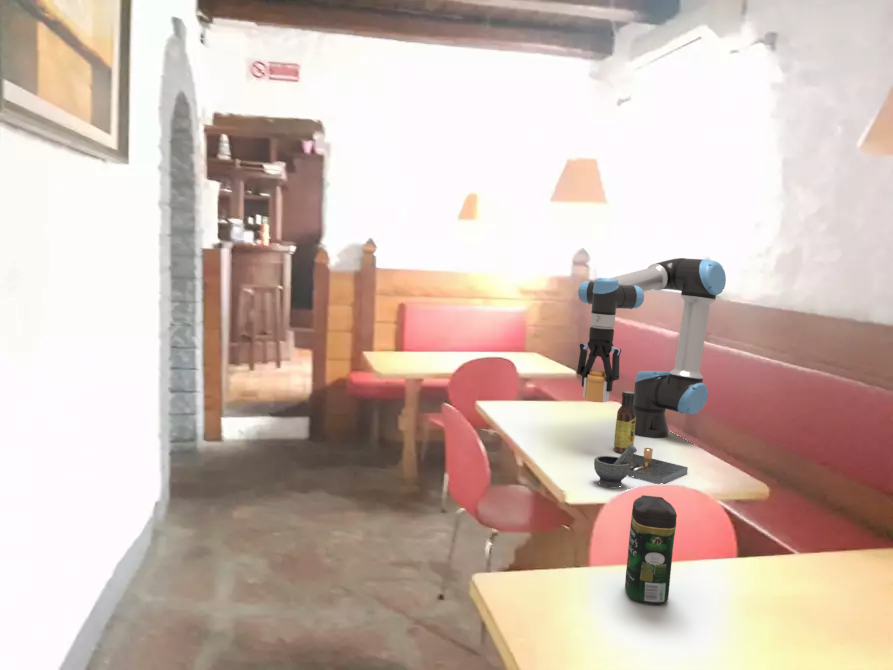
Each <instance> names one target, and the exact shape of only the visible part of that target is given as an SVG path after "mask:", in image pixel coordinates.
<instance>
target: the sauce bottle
mask: <svg viewBox="0 0 893 670" xmlns="http://www.w3.org/2000/svg"><path fill="white" fill-rule="evenodd" d="M621 397H622V400H621V406H620V407H619V408H618V410H617V414H616V420H615V431H614V439H613V441H614V442H613V446H614V447H613V451H614V452H616V453H619V454H622V453H623V452H624V451H625V450H626V449H627V446H628V445H629V444H631V445H633V446H635V445H634V443H635V435H636V434H635V424H636V414H635V410H634V406H633V405H634V404H633V403H634V397H635V393H634V392H633V391H625V390H624V391H622V392H621Z"/></svg>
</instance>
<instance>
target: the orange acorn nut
mask: <svg viewBox="0 0 893 670" xmlns="http://www.w3.org/2000/svg"><path fill="white" fill-rule="evenodd" d="M605 380H606V375H605V370H602V369H591V371H590V373H589V374H588V376H587V382H586V394H585V398H584V399H585V400H586V401H588V402H591V403H592V402H593V403H603V402H602V399H603V388H604V381H605Z"/></svg>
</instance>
